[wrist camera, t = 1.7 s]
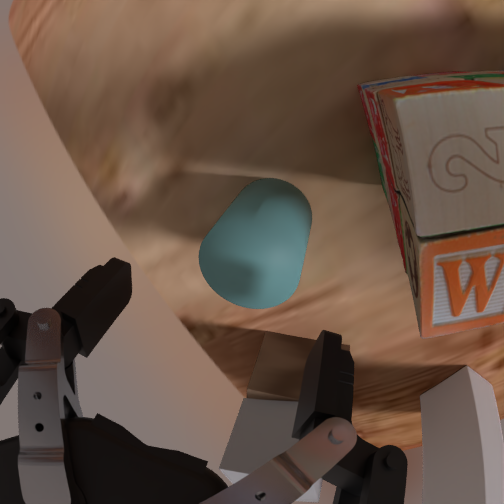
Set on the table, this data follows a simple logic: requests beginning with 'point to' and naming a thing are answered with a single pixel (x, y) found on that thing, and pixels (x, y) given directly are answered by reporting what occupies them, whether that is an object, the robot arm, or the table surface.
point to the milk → (462, 442)
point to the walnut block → (280, 367)
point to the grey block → (262, 440)
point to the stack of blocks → (445, 190)
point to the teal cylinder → (258, 245)
